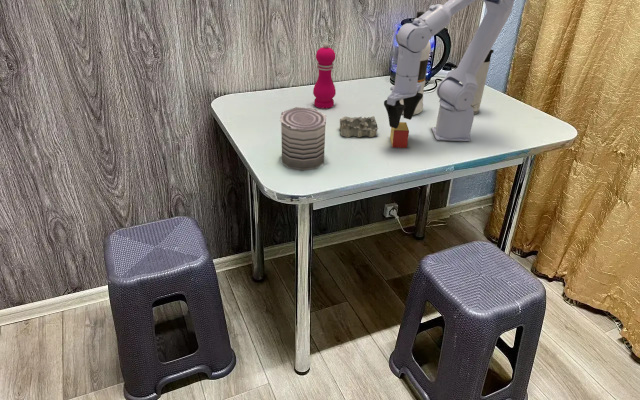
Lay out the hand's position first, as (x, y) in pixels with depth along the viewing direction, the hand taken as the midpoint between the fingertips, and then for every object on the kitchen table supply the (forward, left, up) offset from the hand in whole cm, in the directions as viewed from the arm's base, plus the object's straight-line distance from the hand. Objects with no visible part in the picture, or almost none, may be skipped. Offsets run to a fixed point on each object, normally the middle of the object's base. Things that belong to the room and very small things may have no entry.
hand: (400, 122), depth 128 cm
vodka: (-6, -24, -6) cm, 26 cm away
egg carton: (+11, -6, -6) cm, 14 cm away
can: (+26, +12, -6) cm, 29 cm away
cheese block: (0, 0, -6) cm, 6 cm away
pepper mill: (+21, -26, -6) cm, 34 cm away
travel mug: (-26, -25, -6) cm, 37 cm away
